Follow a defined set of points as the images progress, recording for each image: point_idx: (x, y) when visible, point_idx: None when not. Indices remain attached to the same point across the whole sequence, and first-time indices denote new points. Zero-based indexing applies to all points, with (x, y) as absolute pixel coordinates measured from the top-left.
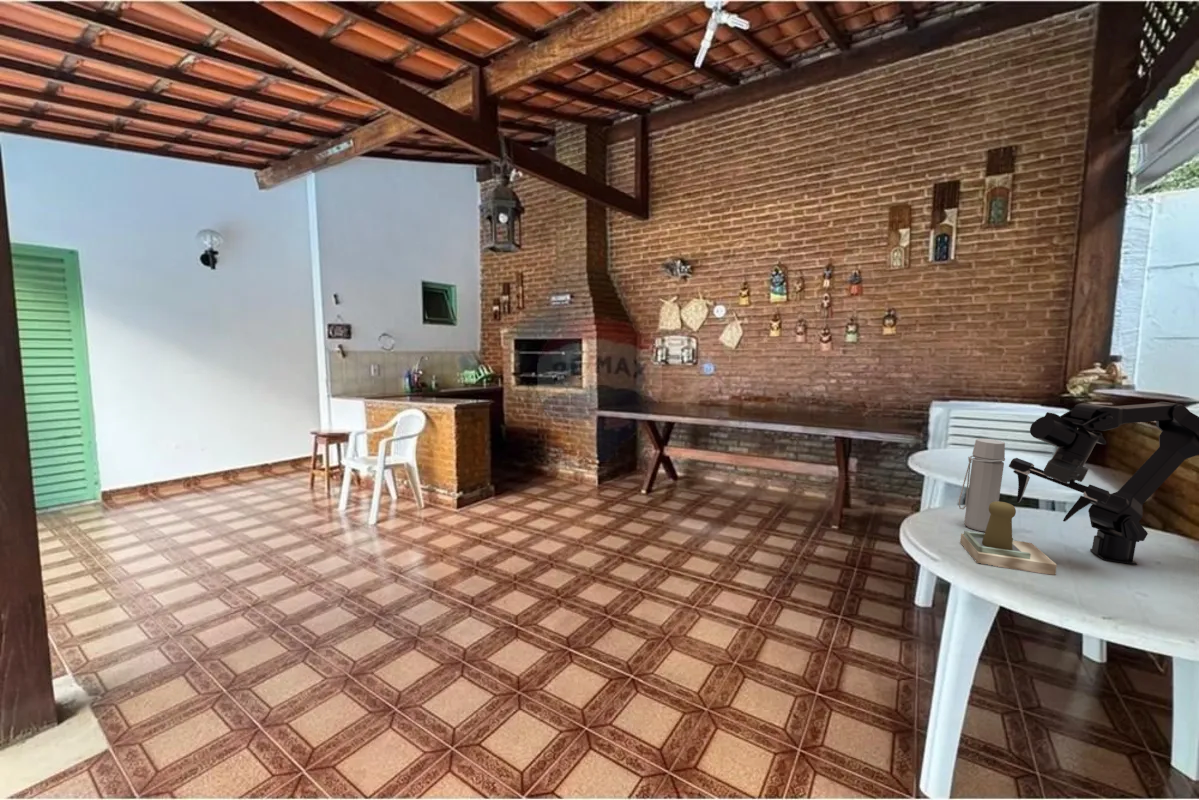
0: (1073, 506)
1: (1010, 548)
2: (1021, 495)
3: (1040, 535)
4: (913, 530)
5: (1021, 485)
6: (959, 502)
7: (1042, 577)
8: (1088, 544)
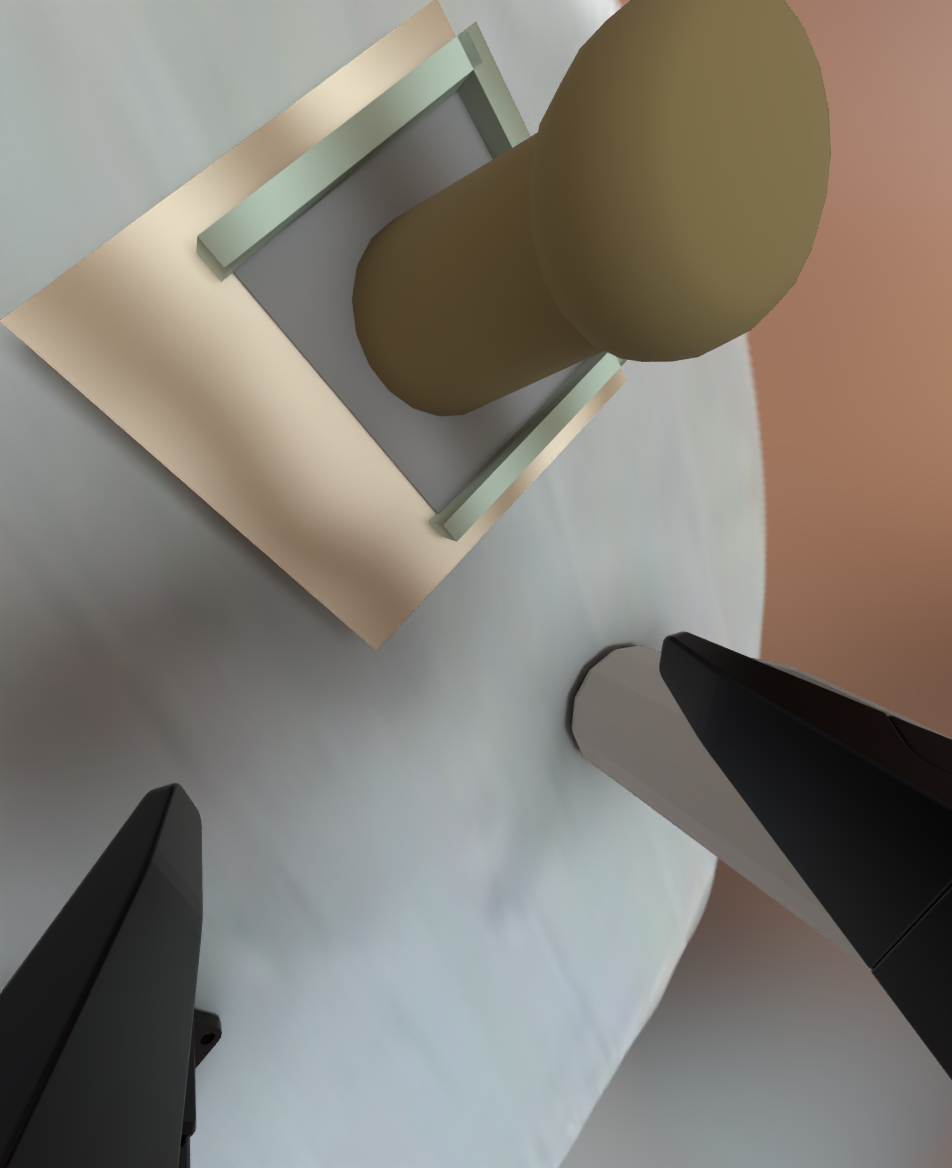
0: (6, 1136)
1: (362, 290)
2: (742, 685)
3: (449, 920)
4: (735, 345)
5: (942, 763)
6: (783, 665)
7: (37, 178)
8: (280, 1080)
